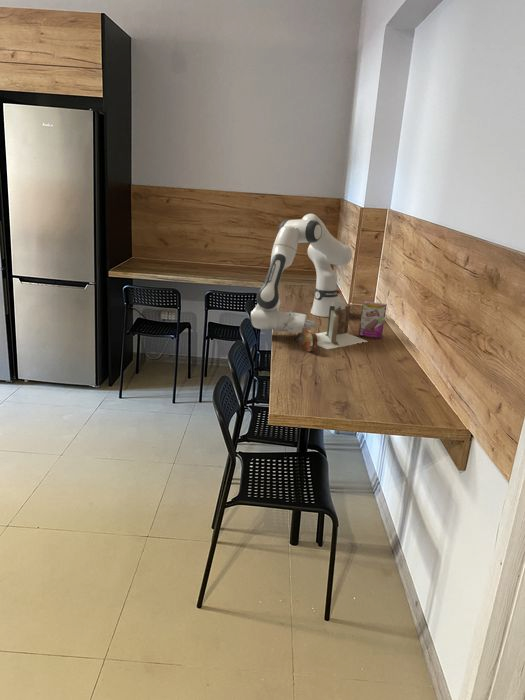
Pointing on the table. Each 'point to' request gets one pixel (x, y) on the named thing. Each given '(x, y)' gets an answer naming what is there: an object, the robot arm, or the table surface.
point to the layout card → (337, 340)
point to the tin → (307, 340)
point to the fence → (340, 319)
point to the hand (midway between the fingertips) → (315, 324)
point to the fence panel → (333, 327)
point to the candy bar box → (372, 319)
